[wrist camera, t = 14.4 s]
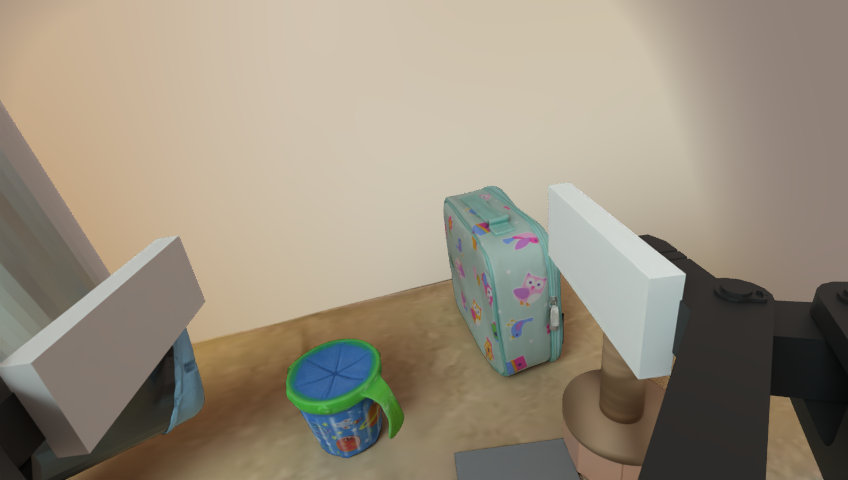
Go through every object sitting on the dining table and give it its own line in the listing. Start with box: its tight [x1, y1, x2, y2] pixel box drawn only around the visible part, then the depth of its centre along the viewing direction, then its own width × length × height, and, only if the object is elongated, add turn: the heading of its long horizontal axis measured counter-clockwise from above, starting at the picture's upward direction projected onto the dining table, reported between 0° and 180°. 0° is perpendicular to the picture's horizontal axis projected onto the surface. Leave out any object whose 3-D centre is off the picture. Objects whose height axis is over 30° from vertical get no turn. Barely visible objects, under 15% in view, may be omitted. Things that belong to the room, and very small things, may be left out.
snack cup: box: [286, 339, 404, 458], centre depth 49 cm, size 16×11×10 cm
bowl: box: [563, 417, 642, 480], centre depth 44 cm, size 10×10×5 cm
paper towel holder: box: [563, 333, 666, 466], centre depth 40 cm, size 11×11×12 cm
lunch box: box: [444, 186, 564, 377], centre depth 61 cm, size 27×10×21 cm, turn 12°
